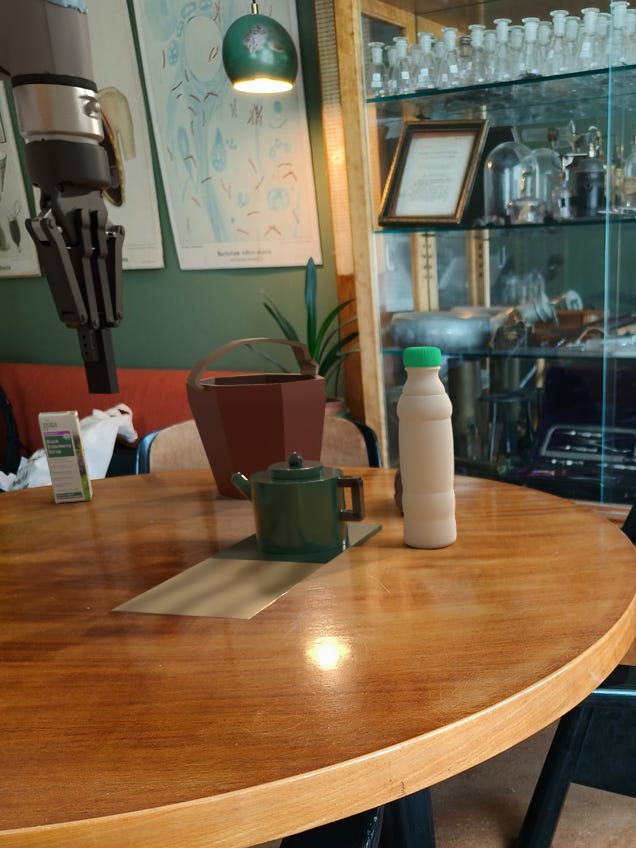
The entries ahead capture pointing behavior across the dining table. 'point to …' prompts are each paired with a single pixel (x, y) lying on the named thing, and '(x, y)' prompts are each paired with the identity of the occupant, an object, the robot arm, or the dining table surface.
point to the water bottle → (426, 452)
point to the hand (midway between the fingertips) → (104, 392)
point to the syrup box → (65, 456)
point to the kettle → (301, 505)
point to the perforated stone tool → (398, 489)
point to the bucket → (257, 415)
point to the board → (239, 579)
